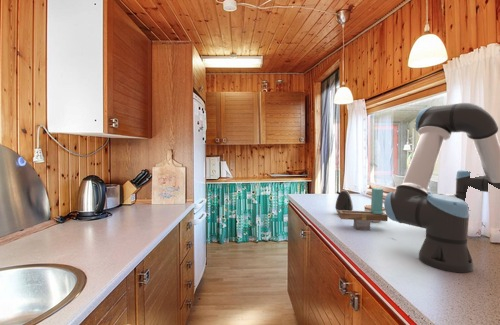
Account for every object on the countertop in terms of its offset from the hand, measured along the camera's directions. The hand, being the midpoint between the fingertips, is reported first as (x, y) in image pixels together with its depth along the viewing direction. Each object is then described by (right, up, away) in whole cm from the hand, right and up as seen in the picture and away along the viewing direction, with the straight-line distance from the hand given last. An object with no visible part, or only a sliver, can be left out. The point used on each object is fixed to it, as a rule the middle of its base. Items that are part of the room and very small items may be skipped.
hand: (392, 200), depth 131 cm
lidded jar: (-1, -14, +18) cm, 23 cm away
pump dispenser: (-13, -14, +31) cm, 37 cm away
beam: (-15, -14, +2) cm, 21 cm away
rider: (-8, -9, +1) cm, 12 cm away
